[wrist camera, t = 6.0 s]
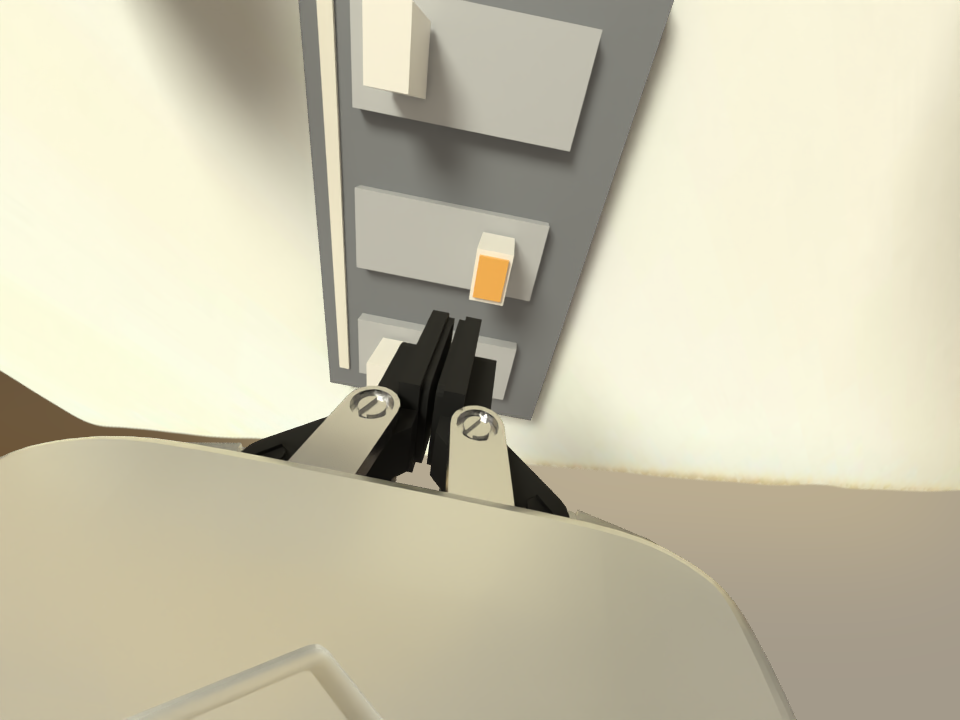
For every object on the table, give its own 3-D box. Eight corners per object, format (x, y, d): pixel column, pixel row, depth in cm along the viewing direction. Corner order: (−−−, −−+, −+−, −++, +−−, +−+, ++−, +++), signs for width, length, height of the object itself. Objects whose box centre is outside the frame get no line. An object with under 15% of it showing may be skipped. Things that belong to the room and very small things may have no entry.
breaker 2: (409, 342, 27) (395, 368, 24) (407, 374, 29) (394, 402, 26) (382, 337, 27) (366, 363, 24) (382, 369, 28) (366, 397, 26)
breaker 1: (430, 21, 17) (412, 0, 14) (425, 99, 19) (408, 94, 16) (389, 13, 17) (362, -11, 14) (387, 91, 19) (363, 85, 16)
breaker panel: (667, -11, 18) (691, -34, 15) (530, 405, 33) (531, 428, 31) (311, -87, 18) (276, -122, 15) (339, 369, 33) (325, 389, 31)
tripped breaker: (514, 238, 22) (514, 256, 19) (504, 283, 24) (502, 307, 21) (482, 231, 22) (476, 249, 19) (475, 277, 24) (468, 301, 20)
